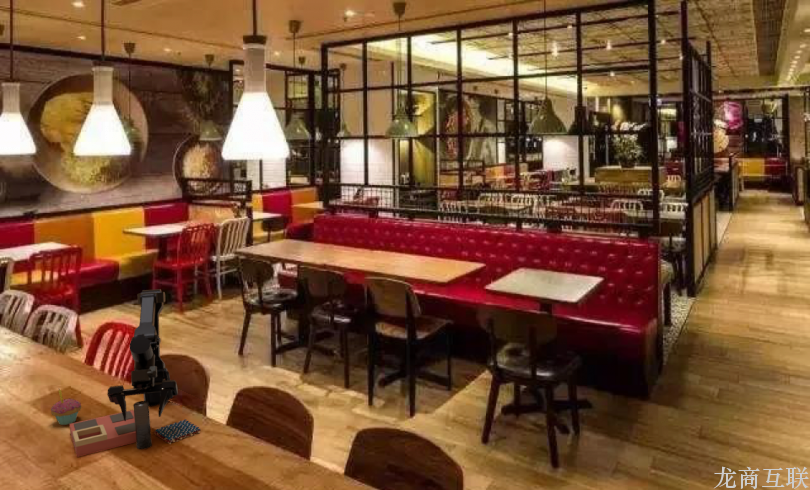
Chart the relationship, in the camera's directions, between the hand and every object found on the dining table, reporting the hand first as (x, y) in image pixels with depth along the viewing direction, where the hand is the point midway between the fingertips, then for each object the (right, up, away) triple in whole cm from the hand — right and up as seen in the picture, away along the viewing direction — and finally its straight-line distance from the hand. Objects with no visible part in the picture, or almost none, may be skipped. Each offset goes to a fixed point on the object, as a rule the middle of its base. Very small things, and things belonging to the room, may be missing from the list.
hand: (142, 418), depth 176 cm
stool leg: (0, -8, +1) cm, 8 cm away
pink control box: (-14, -8, +7) cm, 17 cm away
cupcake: (-32, -6, +18) cm, 37 cm away
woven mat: (+7, -8, +9) cm, 14 cm away
